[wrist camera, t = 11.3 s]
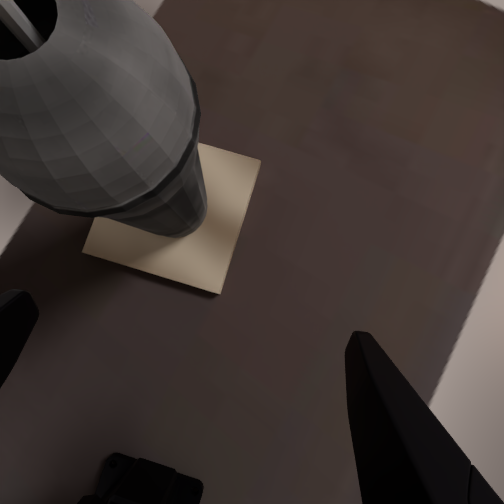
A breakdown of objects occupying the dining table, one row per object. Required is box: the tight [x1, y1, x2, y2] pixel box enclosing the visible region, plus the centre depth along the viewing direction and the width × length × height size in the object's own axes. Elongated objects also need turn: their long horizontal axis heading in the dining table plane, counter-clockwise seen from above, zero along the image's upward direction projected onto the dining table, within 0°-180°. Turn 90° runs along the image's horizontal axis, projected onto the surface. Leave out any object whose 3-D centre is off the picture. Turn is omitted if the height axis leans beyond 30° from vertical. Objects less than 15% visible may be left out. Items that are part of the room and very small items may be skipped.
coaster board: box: [82, 143, 261, 294], centre depth 23 cm, size 10×10×1 cm
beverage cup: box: [0, 0, 208, 238], centre depth 13 cm, size 7×7×20 cm
